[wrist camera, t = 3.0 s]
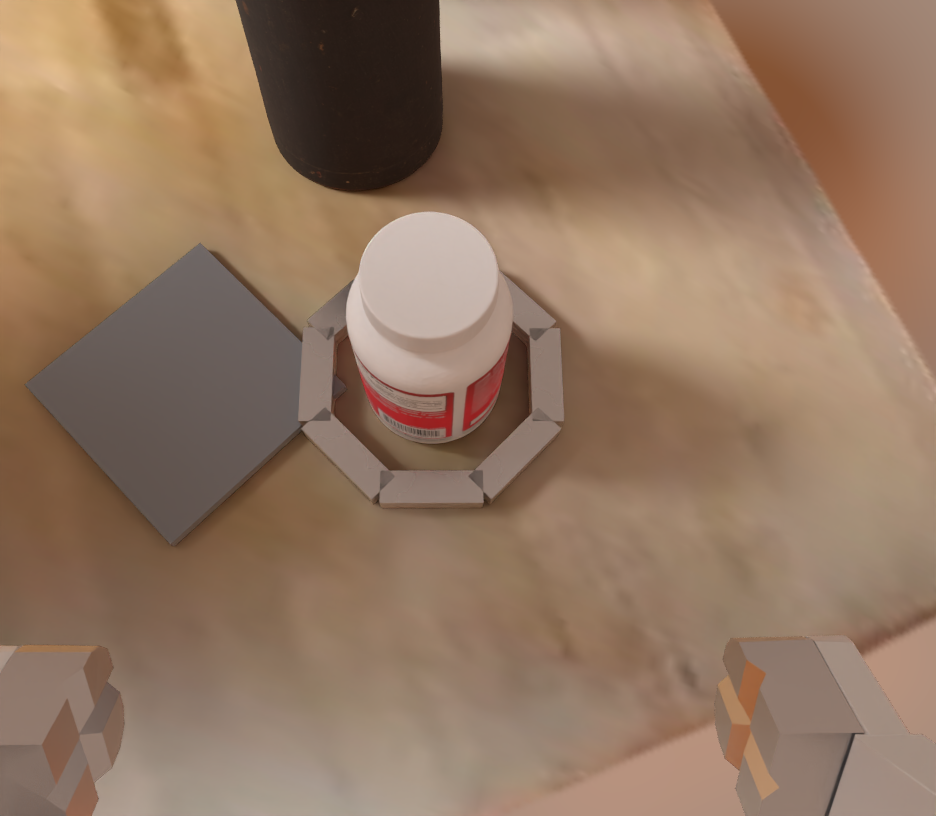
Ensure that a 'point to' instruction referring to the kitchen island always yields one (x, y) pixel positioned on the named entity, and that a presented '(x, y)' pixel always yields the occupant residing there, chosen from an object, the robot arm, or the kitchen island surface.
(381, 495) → the collar
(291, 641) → the kitchen island surface
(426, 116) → the container
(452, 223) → the pill bottle
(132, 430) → the coaster
